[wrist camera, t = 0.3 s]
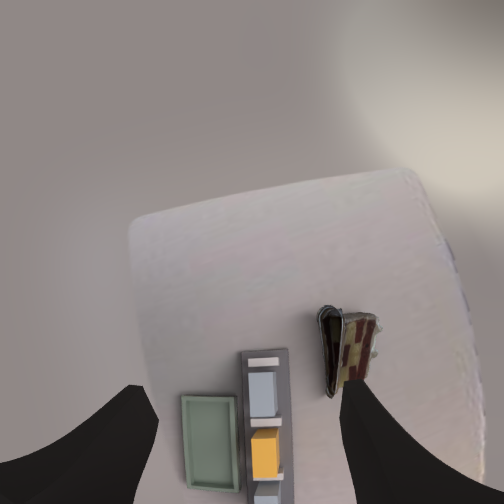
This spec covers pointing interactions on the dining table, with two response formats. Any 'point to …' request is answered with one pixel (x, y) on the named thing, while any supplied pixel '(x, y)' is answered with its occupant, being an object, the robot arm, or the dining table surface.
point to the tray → (211, 443)
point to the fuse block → (270, 419)
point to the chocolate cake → (346, 345)
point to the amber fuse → (265, 453)
